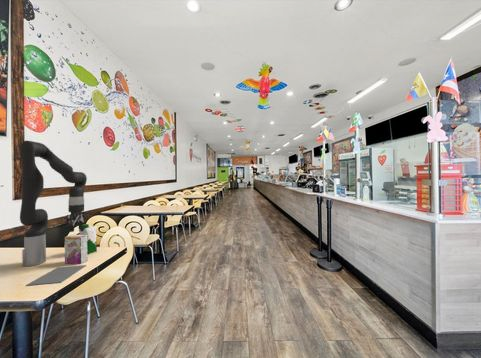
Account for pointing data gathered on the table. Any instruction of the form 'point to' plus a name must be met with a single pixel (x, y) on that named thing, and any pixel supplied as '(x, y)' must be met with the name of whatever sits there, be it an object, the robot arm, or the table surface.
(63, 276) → the mat
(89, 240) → the milk carton
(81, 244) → the candy bar box
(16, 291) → the table surface
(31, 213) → the robot arm
